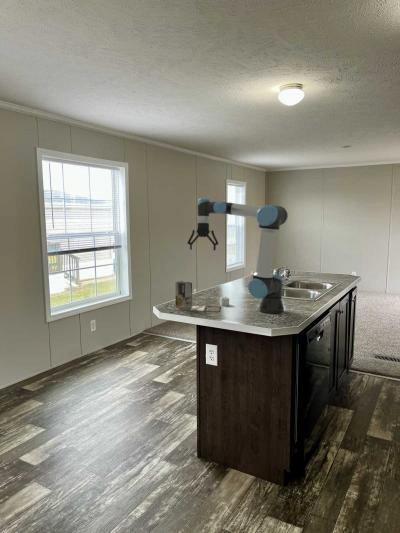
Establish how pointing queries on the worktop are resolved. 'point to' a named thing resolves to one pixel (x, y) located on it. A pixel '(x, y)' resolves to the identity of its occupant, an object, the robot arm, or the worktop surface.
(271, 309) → the robot arm
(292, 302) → the worktop surface
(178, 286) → the coffee box
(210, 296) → the worktop surface
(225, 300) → the die
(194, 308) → the board
